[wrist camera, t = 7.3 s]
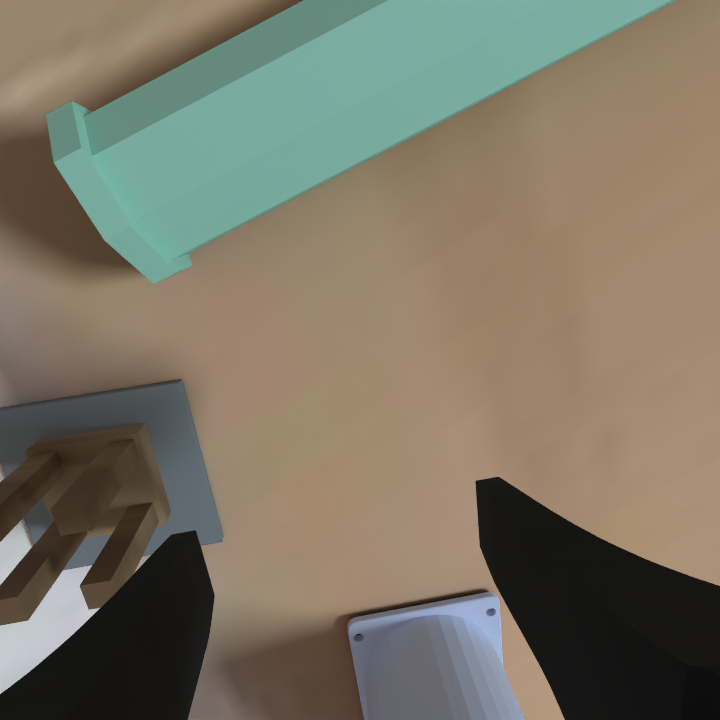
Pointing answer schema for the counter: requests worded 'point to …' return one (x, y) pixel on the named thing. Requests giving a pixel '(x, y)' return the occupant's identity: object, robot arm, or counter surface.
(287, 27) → the container
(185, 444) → the mat
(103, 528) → the stool
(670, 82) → the counter surface
